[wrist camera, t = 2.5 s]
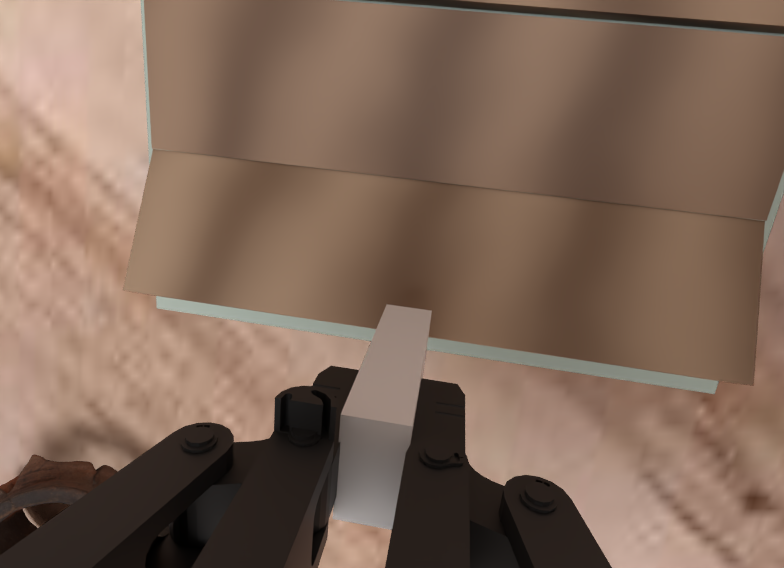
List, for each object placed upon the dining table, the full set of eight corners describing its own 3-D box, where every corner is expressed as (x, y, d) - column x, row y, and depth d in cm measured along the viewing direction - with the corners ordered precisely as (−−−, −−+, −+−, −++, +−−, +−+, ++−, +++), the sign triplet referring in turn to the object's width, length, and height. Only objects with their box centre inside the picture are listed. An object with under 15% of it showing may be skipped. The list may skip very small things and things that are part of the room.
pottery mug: (-3, 428, 30) (-82, 487, 22) (170, 413, 33) (154, 460, 25) (4, 623, 30) (-72, 749, 23) (173, 591, 33) (158, 692, 26)
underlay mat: (893, -148, 16) (903, -155, 16) (710, 389, 22) (714, 394, 22) (137, -180, 19) (130, -187, 18) (161, 305, 25) (156, 308, 25)
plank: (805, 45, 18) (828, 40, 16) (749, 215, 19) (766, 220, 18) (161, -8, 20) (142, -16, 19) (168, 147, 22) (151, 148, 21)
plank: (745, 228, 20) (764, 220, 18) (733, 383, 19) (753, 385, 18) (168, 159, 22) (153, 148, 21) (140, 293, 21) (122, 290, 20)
